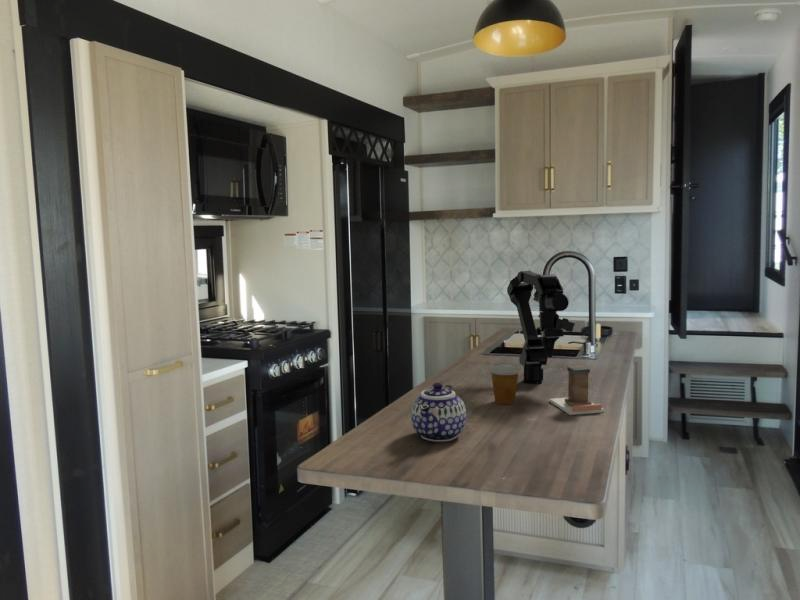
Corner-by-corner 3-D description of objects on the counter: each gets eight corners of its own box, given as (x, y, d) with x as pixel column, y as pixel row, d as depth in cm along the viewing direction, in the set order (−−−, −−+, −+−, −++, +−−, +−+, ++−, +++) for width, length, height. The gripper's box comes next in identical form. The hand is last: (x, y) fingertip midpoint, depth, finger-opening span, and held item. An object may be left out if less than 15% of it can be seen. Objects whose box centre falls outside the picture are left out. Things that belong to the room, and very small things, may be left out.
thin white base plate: (549, 401, 215) (549, 394, 214) (581, 399, 217) (581, 392, 216) (570, 415, 200) (570, 406, 199) (604, 412, 202) (604, 404, 202)
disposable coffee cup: (523, 399, 218) (523, 363, 216) (515, 407, 209) (515, 369, 208) (494, 397, 222) (494, 361, 220) (486, 404, 213) (486, 367, 212)
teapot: (430, 420, 197) (430, 371, 195) (479, 426, 190) (479, 375, 189) (394, 446, 174) (393, 390, 172) (448, 453, 168) (448, 396, 166)
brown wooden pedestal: (564, 402, 209) (565, 366, 208) (582, 400, 210) (583, 365, 209) (573, 407, 203) (573, 370, 202) (591, 405, 204) (592, 369, 203)
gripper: (578, 310, 217) (580, 358, 217) (566, 310, 236) (568, 354, 236) (543, 311, 218) (545, 359, 218) (534, 311, 236) (536, 355, 236)
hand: (550, 357), depth 227 cm, fingers closed
